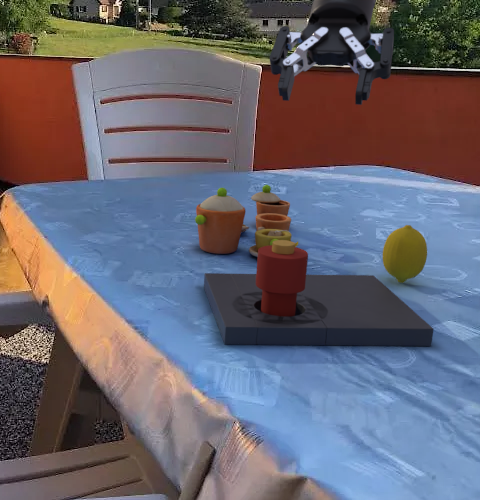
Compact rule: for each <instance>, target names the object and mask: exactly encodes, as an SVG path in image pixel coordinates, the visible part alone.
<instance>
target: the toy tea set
mask: <svg viewBox="0 0 480 500" xmlns="http://www.w3.org/2000/svg"><path fill="white" fill-rule="evenodd" d="M261 190H262V191H259V192H256V193H254V194H253V195H251V197H250V199H251V201H253V202H255V206H256V207H255V208H256V215H255V226H256V227H255V229H256V231H255V232H254V242H255V244H254V245H251V246H250V247H249V248H248V252H249V254H250V255H251V256H254V257H256V258H258V249H259V248H261V247H264V246H269V245H272V243H273V241H276V240H287V241H291V242H292V236H293V235H292V233H291V232H290V228H291V224H292V223H291V222H292V217H290V216H288V215H289V211H290V206H291V202H289V201H287V200H284V199H281V198H280V197H279V196H278V195H277V194H275V193H274V192H271V191H272V187H271V185H269V184H264V185H263V186H262V188H261ZM227 194H228V190H227V188H226V187H219V188H218V189H217V191H216V194H214V195H211V196H209V197H207V198H206V199H204V200H203V201H202V202H201V203H199V204H197V206H196V208H195V212H196V214H195V215H196V216H195V218H194V222H195V223H196V225H197V232H198V233H197V235H198V242H199V243H198V244H199V248H200V250H201V251H203V252H206V253H209V254H216V255H228V254H232V253H235V252H236V251H237V250H238V247H239V243H240V239H241V235H242V233H245V232H246V231H247V230H249V229H250V227H249V226H248V225H246V224H244V221H245V216H246V208H245V207H244V205H242V203H241V202H239V200H237V198H235V197H233V196H231V195H227ZM293 242H294V243H295V247H298V246H299V241H296V242H295V241H293Z"/></svg>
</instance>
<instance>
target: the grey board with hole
mask: <svg viewBox="0 0 480 500" xmlns="http://www.w3.org/2000/svg"><path fill="white" fill-rule="evenodd" d="M203 290H204V292H205V296H206V298H207V300H208V303H209V306H210V309H211V311H212V314H213V316H214V320H215V322H216V325H217V328H218V330H219V333H220V336H221V339H222V341H223V343H224V345H235V346H236V345H237V346H238V345H241V346H243V345H245V346H253V345H254V346H255V345H259V346H260V345H261V346H263V345H268V346H373V347H377V346H379V347H381V346H383V347H387V346H388V347H394V346H395V347H432V343H433V337H434V327H432V325H430V324H429V323H428V322H427V321H426V320H424V319H423V318H422V317H421V316H420V315H419V314H418V313H417V312H415V311H414V310H413V309H412V308H411V307H410V306H409V305H408V304H407V303H405V302H404V301H403V299H401V298H400V297H399V296H397V294H396V293H394V292H393V291H392V290H391V289H390V288H388V286H386V285H385V284H384V283H383V282H382V281H381V280H380V279H378V278H377V277H376V276H375V275H373V274H306V282H305V289H304V290H303V291H302V292H299V293H297V299H296V310H295V316H274V315H269V314H266V313H263V312H261V302H262V289H260V288H258V287H257V286H256V273H225V272H224V273H221V272H219V273H217V272H215V273H213V272H208V273H207V272H205V273H204V278H203Z"/></svg>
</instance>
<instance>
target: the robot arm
mask: <svg viewBox="0 0 480 500" xmlns="http://www.w3.org/2000/svg"><path fill="white" fill-rule="evenodd" d="M376 3H377V0H313V1H312V4H311V8H310V13H309V16H308V21H307V25H306V27H305V28H304V29H303V30H302V31H301V32H299V31H291V30H290V27H289V26H287V25H284V26H281V27H280V28H279V30H278V32H277V36H276V38H275V41H274V44H273V47H272V50H271V52H270V54H269V65H270V71H271V74H272V75H274V76H277V75H280V76H279V78H278V83H277V89H278V94H279V97H282V101H290V99H291V94H292V91H293V87H294V83H295V77H296V76H298V75H299V74H300V73H301V72H307V71H308V70H310V69H311V68H312V67H314V66H315V65H317V66H331V65H332V66H336V67H344V66H345V65H346V64H347V65H348V66H349V67H350V69H351V70H352V71H353V73H354V74H358V78H357V83H356V88H355V96H354V97H355V101H354V102H355V105H360V106H361V105H363V101H368V100H369V98H370V94H371V90H372V85H373V81H375V80H376V79H381V80H388V79H390V77H391V73H392V63H393V62H392V61H393V53H394V37H395V30H394V28H393V27H386V28H384V29H383V32H382V33H381V32H380V33H379V32H378V33H372V32H371V31H370V27H371V23H372V18H373V13H374V8H375V6H376ZM297 44H299V45H298V46H296V45H297ZM295 46H296V48H295V50H294V52H292V51H293V48H294V47H295ZM370 46H374V48H375V50H376V51H377V53H378V54H380V57H379V58H380V59H379V61H373V59H371V57H370V56H369V55H368V54H367V51H366V50H367V49H369V47H370ZM289 52H292V53H291V54H290V55H288V53H289Z"/></svg>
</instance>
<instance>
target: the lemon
mask: <svg viewBox="0 0 480 500" xmlns="http://www.w3.org/2000/svg"><path fill="white" fill-rule="evenodd" d="M425 238H426V237H424V235H423V234H422V233H421V232H420V231H419V230H418V229H416V228H413V226H412V225H411V224H405V225H404V226H402V227H399V228H397V229H395V230H393V231H392V232H390V234H389V235H388V236H387V238H386V239H385V242H384V244H383V247H382V264H383V267H384V269H385V271H386V272H387V273H388V274H389V275H390V276H391V277H393V278H395V279H396V281H397V282H398V283H401V284H404V283H405V282H406V281H408V280H411V279H413V278H415V277H417V276H418V275H420V274H421V272H422V271H423V270H424V268H425V266H426V263H427V260H428V259H427V258H428V243H427V241H426V239H425Z"/></svg>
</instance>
